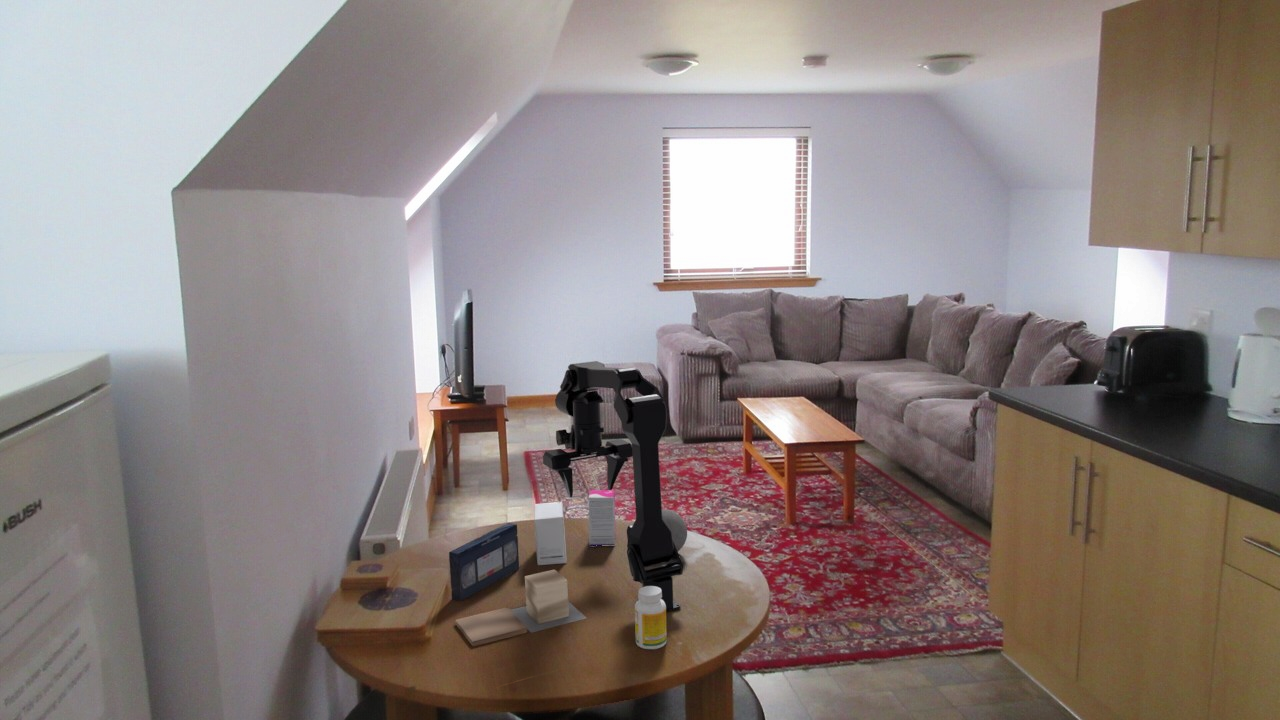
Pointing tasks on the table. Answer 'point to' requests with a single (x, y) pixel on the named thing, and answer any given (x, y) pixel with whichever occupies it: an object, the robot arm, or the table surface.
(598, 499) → the supplement box
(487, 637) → the walnut pad
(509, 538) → the vhs cassette tape
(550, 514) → the skincare box
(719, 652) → the table surface
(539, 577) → the maple block
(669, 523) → the decorative ball
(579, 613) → the gray tile
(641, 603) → the supplement bottle
